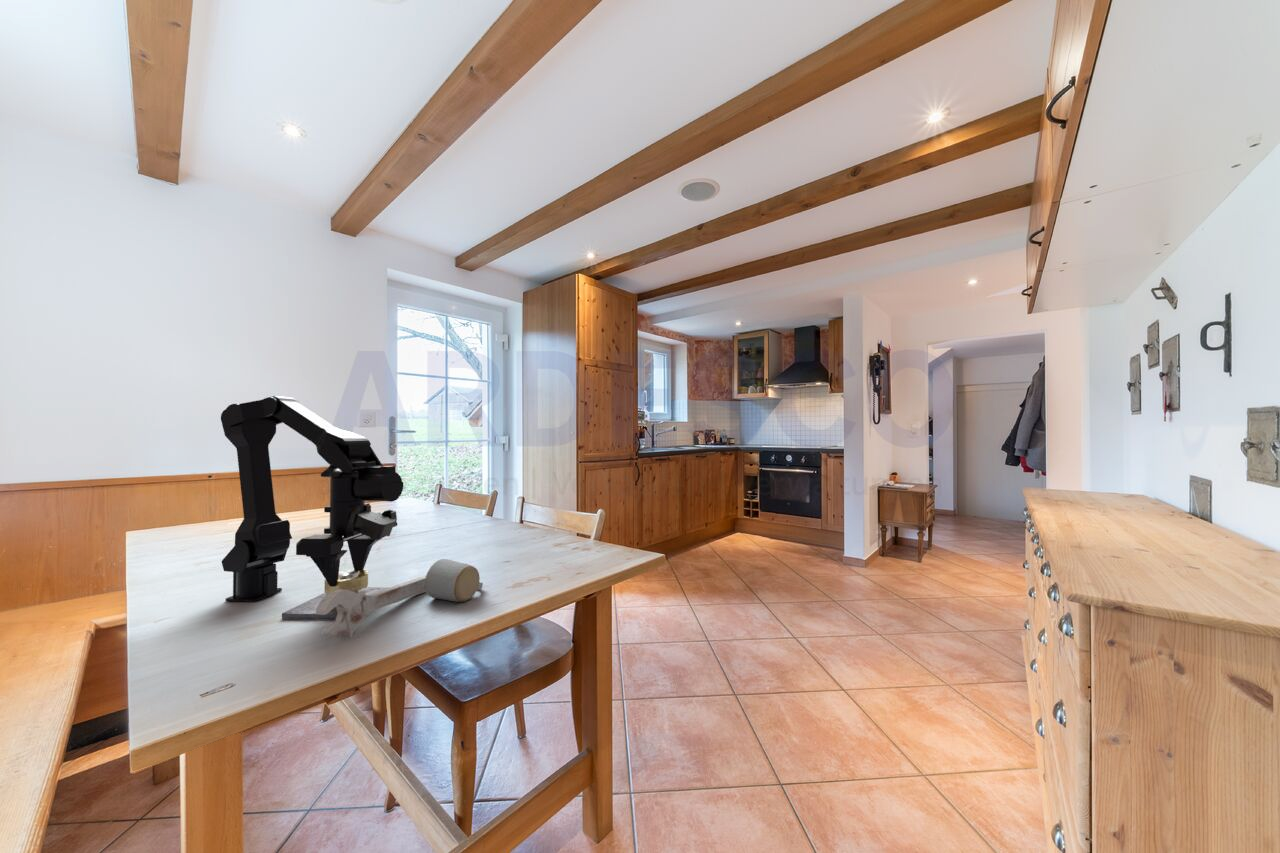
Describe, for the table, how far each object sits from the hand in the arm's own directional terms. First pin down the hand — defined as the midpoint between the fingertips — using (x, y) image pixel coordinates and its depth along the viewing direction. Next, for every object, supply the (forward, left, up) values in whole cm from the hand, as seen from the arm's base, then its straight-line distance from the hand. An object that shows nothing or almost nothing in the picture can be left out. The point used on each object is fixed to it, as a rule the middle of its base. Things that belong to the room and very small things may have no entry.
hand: (346, 579), depth 87 cm
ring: (0, 0, -2) cm, 2 cm away
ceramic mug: (+20, +5, -5) cm, 21 cm away
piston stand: (0, 0, -5) cm, 5 cm away
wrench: (+10, -4, -5) cm, 12 cm away
